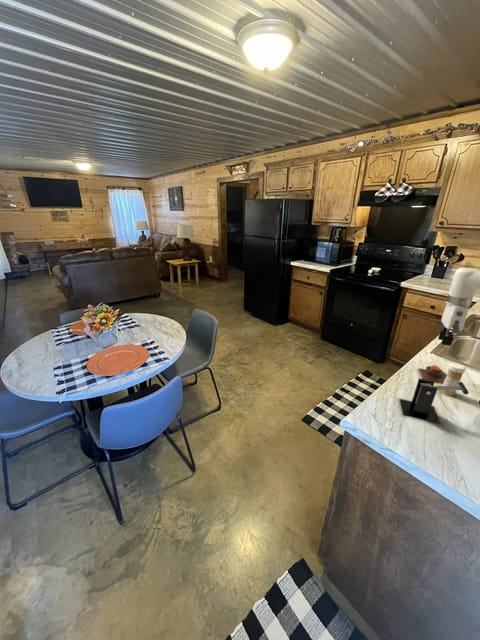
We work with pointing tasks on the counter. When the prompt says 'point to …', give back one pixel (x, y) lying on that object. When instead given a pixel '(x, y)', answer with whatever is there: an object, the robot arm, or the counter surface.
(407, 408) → the bracket
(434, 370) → the button
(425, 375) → the button block
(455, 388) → the lever
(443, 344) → the robot arm
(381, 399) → the counter surface
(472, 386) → the counter surface
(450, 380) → the sprinkles bottle
